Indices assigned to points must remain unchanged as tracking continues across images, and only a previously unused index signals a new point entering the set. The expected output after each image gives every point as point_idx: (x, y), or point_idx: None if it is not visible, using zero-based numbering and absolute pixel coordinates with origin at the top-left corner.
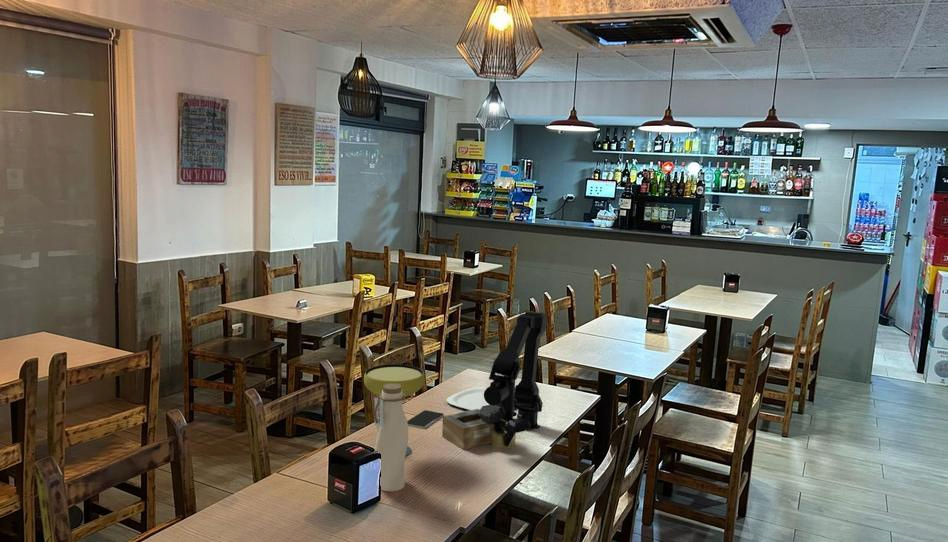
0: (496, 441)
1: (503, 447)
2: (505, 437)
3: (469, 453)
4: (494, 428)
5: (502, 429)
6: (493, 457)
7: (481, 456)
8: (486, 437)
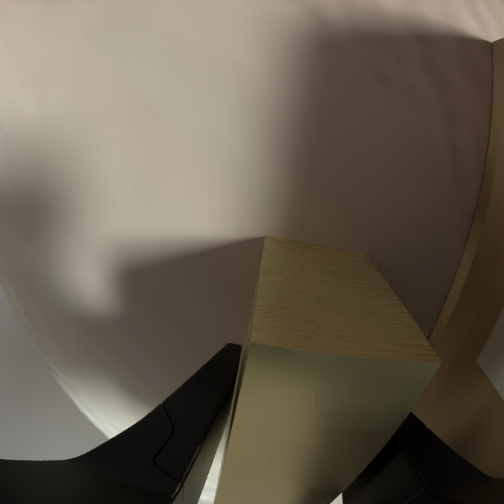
0: (294, 286)
1: (249, 320)
2: (190, 406)
3: (411, 3)
4: (455, 453)
5: (358, 495)
6: (180, 88)
7: (285, 14)
8: (482, 317)
